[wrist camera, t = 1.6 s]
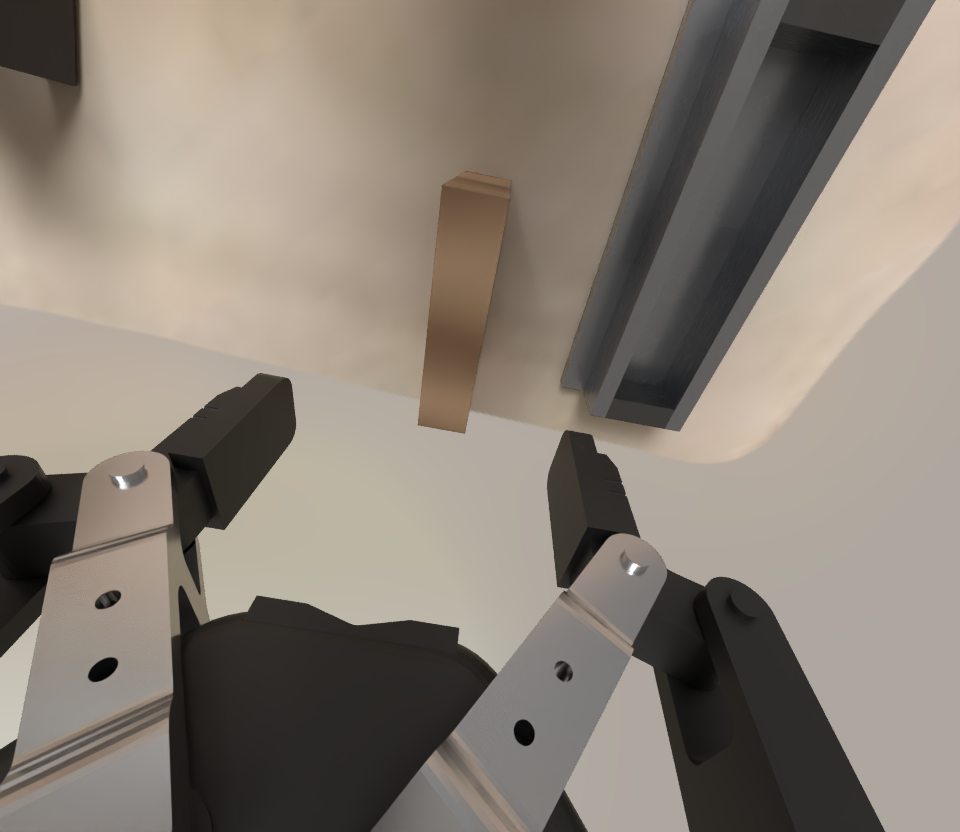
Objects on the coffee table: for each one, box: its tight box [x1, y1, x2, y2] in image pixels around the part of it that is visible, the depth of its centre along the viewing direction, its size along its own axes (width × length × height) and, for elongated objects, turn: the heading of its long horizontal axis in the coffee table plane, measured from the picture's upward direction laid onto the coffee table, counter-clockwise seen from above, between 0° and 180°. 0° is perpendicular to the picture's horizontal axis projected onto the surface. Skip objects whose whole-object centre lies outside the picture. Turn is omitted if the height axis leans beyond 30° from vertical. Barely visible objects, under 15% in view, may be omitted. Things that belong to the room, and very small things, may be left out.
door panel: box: [418, 171, 511, 433], centre depth 21 cm, size 11×2×9 cm, turn 170°
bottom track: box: [561, 0, 935, 431], centre depth 21 cm, size 20×9×4 cm, turn 170°
